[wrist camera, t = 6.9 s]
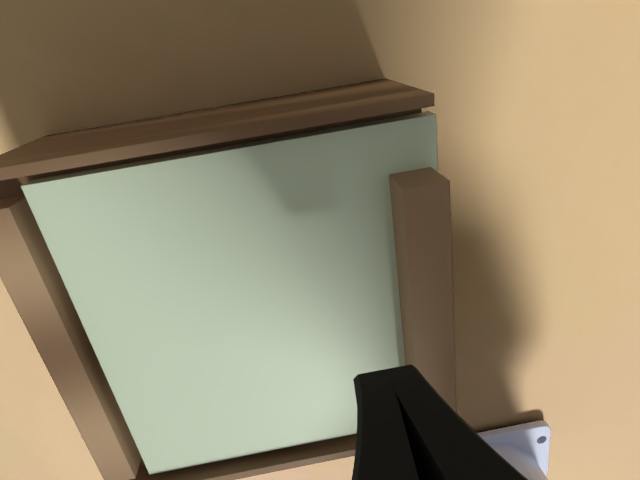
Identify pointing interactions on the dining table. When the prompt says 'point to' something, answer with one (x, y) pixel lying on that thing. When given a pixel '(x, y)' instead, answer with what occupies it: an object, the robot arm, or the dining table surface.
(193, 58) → the dining table surface
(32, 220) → the box
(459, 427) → the robot arm
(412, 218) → the lid
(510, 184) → the dining table surface
